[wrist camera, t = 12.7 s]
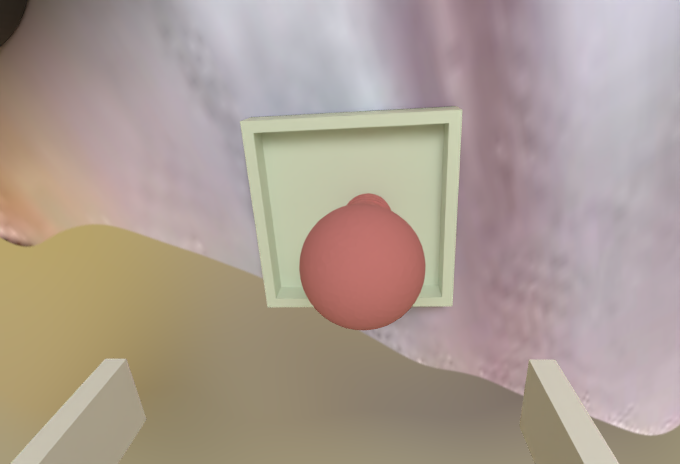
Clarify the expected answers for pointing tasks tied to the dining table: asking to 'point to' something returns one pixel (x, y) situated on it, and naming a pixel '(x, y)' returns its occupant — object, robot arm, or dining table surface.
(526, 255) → the dining table surface
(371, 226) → the light bulb
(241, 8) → the dining table surface
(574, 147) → the dining table surface
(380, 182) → the tray
